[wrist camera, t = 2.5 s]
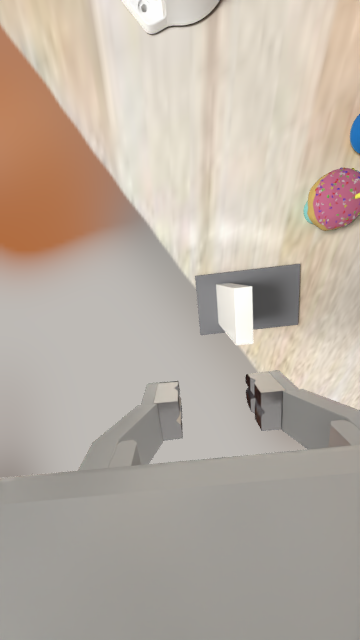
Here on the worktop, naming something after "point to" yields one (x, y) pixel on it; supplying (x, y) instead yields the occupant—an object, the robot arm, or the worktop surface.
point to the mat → (253, 296)
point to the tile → (236, 311)
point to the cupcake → (334, 199)
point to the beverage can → (355, 135)
